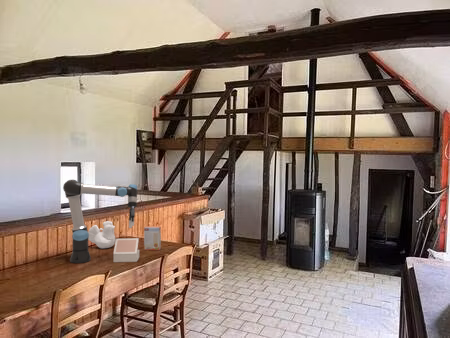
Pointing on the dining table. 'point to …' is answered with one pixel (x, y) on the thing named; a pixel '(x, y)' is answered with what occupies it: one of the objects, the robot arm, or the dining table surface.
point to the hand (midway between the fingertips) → (131, 226)
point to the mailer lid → (126, 246)
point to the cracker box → (152, 238)
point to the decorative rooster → (102, 235)
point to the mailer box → (126, 257)
